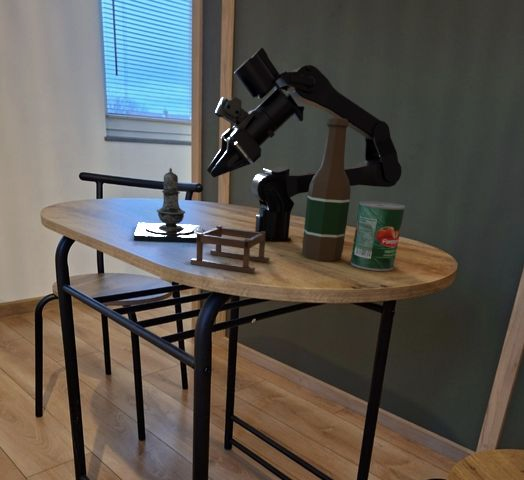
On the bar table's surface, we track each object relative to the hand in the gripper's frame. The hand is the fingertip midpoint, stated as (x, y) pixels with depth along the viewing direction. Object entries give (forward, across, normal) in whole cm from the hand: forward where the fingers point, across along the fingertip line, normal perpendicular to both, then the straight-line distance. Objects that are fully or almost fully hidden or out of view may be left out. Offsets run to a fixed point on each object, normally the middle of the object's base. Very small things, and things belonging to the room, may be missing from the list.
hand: (209, 173), depth 96 cm
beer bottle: (-6, +16, +24) cm, 29 cm away
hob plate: (+15, 0, +3) cm, 15 cm away
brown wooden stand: (+7, +23, +11) cm, 26 cm away
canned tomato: (-11, +22, +29) cm, 38 cm away
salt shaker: (+14, 0, +3) cm, 14 cm away
